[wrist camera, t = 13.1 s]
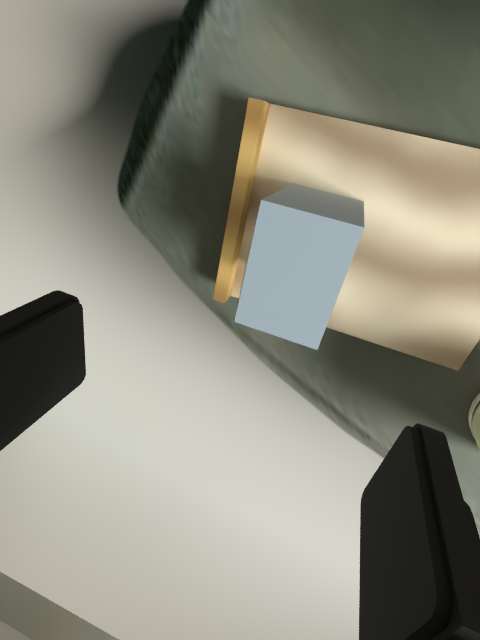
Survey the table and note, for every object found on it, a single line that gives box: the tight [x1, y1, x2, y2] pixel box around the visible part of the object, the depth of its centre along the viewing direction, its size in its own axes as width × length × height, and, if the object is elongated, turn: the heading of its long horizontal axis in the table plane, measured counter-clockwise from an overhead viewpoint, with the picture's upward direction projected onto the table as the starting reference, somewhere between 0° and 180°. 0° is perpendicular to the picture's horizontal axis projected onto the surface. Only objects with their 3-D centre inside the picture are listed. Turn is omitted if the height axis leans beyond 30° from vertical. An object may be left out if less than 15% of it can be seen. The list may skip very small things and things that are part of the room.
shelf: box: [213, 97, 480, 371], centre depth 24 cm, size 14×20×3 cm
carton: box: [235, 184, 364, 350], centre depth 21 cm, size 5×7×9 cm
